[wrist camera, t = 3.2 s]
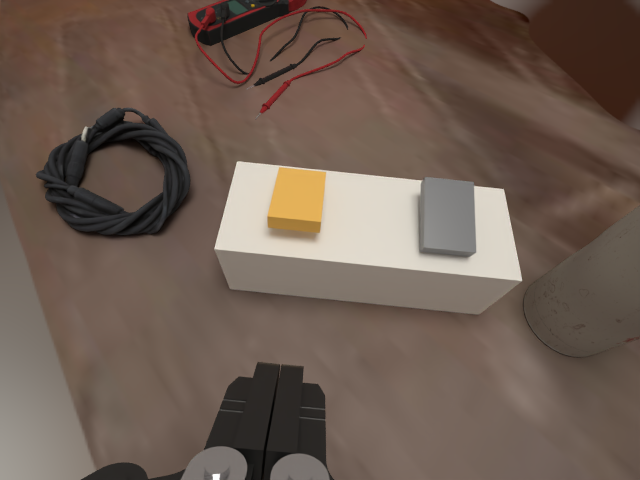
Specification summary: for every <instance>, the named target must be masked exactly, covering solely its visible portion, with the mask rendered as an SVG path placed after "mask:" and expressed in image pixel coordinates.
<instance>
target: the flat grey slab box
mask: <svg viewBox="0 0 640 480" xmlns="http://www.w3.org/2000/svg"><path fill="white" fill-rule="evenodd" d="M420 252H427V253H437V254H447V255H456V256H466V257H470V256H472V255H474V254H475V253H476V228H475V200H474V182H468V181H459V180H449V179H440V178H430V177H425V178H424V179H423V181H422V182H421V191H420Z"/></svg>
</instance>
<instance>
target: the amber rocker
mask: <svg viewBox="0 0 640 480" xmlns="http://www.w3.org/2000/svg"><path fill="white" fill-rule="evenodd" d="M325 179H326V172H321V171H311V170H302V169H292V168H283V167H279V170H278V174H277V178H276V182H275V186H274V191H273V195H272V199H271V203H270V207H269V211H268V215H267V222H268V228H276V229H286V230H295V231H305V232H315V233H320V228H321V219H322V209H323V199H324V189H325Z"/></svg>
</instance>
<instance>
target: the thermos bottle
mask: <svg viewBox="0 0 640 480" xmlns="http://www.w3.org/2000/svg"><path fill="white" fill-rule="evenodd" d="M524 312H525V316H526V319H527V321H528V323H529V325H530V327H531V329H532V330H533V332H534V333H535V334H536V335H537V337H538V338H539V339H540V340H541V341H543V342H544V343H545V344H546V345H547V346H549V347H550V348H552V349H553V350H555V351H557V352H559V353H561V354H565V355H568V356H572V357H587V356H590V355H593V354H596V353H599V352H602V351H605V350H608V349H611V348H614V347H617V346H620V345H623V344H626V343H628V342H631V341H634V340H637V339H640V205H639V206H638V207H637V208H635V209H634V210H633V211H631V212H630V213H629V214H627V215H626V216H624V217H623V218H622V219H620V220H619V221H618V222H616V223H615V224H614V225H612V226H611V227H609V228H608V229H607V230H606V231H604V232H603V233H602V234H601V235H600V236H599V237H597V238H596V239H595V240H594V241H592V242H591V243H590V244H588V245H587V246H585V247H584V248H582V249H581V250H579V251H578V252H576V253H574V254H573V255H571V256H570V257H568V258H567V259H566V260H564V261H563V262H562V263H560V264H559V265H557V266H556V267H555V268H553V269H552V270H551V271H549V272H548V273H546V274H545V275H544V276H542V277H541V278H540V279H538V280H537V281H536V282H534V283H533V284H532V285H531V286H530V287H529V288H528V290H527V292H526V294H525V297H524Z"/></svg>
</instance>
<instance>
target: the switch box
mask: <svg viewBox="0 0 640 480" xmlns="http://www.w3.org/2000/svg"><path fill="white" fill-rule="evenodd" d="M279 167H283V168H292V169H302V170H311V171H321V172H326V179H325V189H324V199H323V209H322V219H321V228H320V233H315V232H305V231H295V230H286V229H276V228H268V222H267V215H268V211H269V207H270V203H271V199H272V195H273V191H274V186H275V182H276V178H277V174H278V170H279ZM421 182H422V181H420V180H410V179H401V178H391V177H382V176H372V175H363V174H353V173H343V172H334V171H324V170H315V169H305V168H296V167H286V166H276V165H267V164H257V163H248V162H238V161H237V165H236V169H235V172H234V176H233V180H232V184H231V188H230V191H229V195H228V199H227V203H226V207H225V210H224V214H223V218H222V222H221V226H220V229H219V233H218V237H217V241H216V245H215V248H214V250H215V252H216V255H217V257H218V260H219V262H220V265H221V267H222V270H223V272H224V275H225V278H226V280H227V283H228V285H229V288H230V289H233V290H243V291H252V292H262V293H272V294H282V295H291V296H301V297H311V298H320V299H330V300H340V301H350V302H359V303H369V304H379V305H388V306H398V307H408V308H417V309H427V310H437V311H447V312H456V313H466V314H476V315H479V314H480V313H482V312H483V311H484V310H486V309H487V308H488V307H490V306H491V305H492V304H493V303H495V302H496V301H497V300H499V299H500V298H501V297H502V296H504V295H505V294H506V293H508V292H509V291H510V290H511V289H513V288H514V287H515V286H517V285H518V284H519V283H520V282H522V277H521V272H520V267H519V262H518V257H517V252H516V247H515V242H514V237H513V232H512V228H511V223H510V218H509V213H508V208H507V203H506V198H505V193H504V189H497V188H487V187H477V186H474V200H475V228H476V253H475V254H474V255H472V256H470V257H466V256H456V255H447V254H437V253H427V252H420V191H421Z"/></svg>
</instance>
